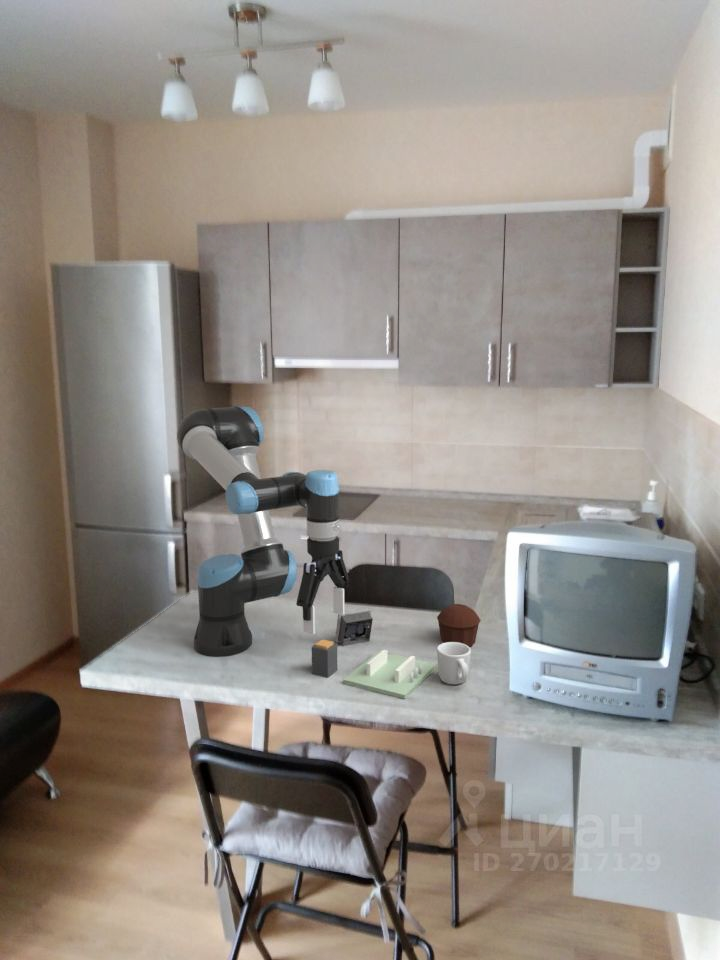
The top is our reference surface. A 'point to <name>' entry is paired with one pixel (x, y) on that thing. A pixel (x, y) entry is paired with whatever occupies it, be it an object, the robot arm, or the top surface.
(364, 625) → the electrical switch
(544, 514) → the top surface
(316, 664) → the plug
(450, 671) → the cup
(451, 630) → the muffin
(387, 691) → the board
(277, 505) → the robot arm
